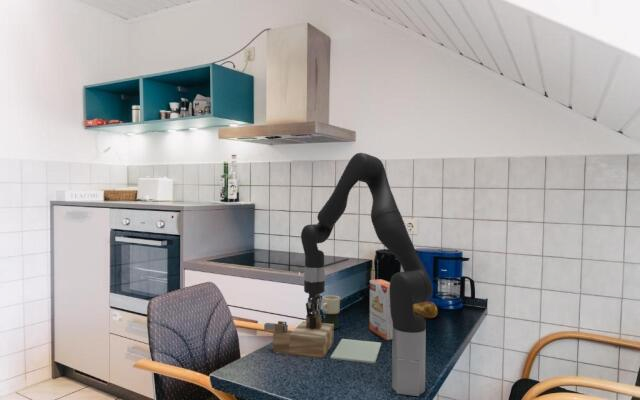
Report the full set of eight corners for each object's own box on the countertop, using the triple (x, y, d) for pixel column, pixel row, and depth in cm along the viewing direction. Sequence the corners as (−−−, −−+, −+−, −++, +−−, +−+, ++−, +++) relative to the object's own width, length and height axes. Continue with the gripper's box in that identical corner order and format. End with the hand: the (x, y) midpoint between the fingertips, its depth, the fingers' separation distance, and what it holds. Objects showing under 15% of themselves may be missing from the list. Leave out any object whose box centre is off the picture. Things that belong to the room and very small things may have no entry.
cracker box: (368, 330, 172) (369, 279, 172) (381, 328, 174) (381, 278, 174) (385, 341, 158) (386, 286, 158) (399, 339, 161) (399, 285, 161)
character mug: (331, 323, 180) (332, 293, 180) (345, 326, 176) (345, 296, 176) (316, 329, 171) (316, 298, 172) (330, 333, 167) (330, 300, 167)
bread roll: (406, 315, 194) (406, 298, 194) (416, 311, 202) (416, 295, 202) (432, 321, 186) (432, 303, 186) (441, 316, 193) (441, 299, 193)
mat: (374, 363, 136) (375, 361, 136) (330, 358, 140) (330, 356, 140) (381, 344, 155) (381, 342, 155) (341, 340, 159) (341, 338, 159)
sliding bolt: (285, 332, 145) (285, 323, 145) (264, 330, 147) (264, 321, 147) (287, 330, 147) (287, 321, 147) (266, 328, 149) (266, 320, 149)
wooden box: (322, 358, 140) (323, 328, 140) (272, 352, 145) (273, 324, 145) (333, 342, 156) (333, 316, 156) (288, 338, 160) (288, 312, 160)
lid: (323, 342, 140) (323, 324, 140) (289, 339, 143) (289, 321, 143) (333, 328, 156) (333, 312, 156) (303, 326, 159) (303, 309, 159)
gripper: (309, 275, 159) (309, 320, 159) (298, 282, 146) (298, 331, 146) (328, 276, 157) (328, 321, 157) (319, 283, 144) (319, 333, 144)
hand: (313, 326), depth 152 cm, fingers closed on lid, 3 cm apart
